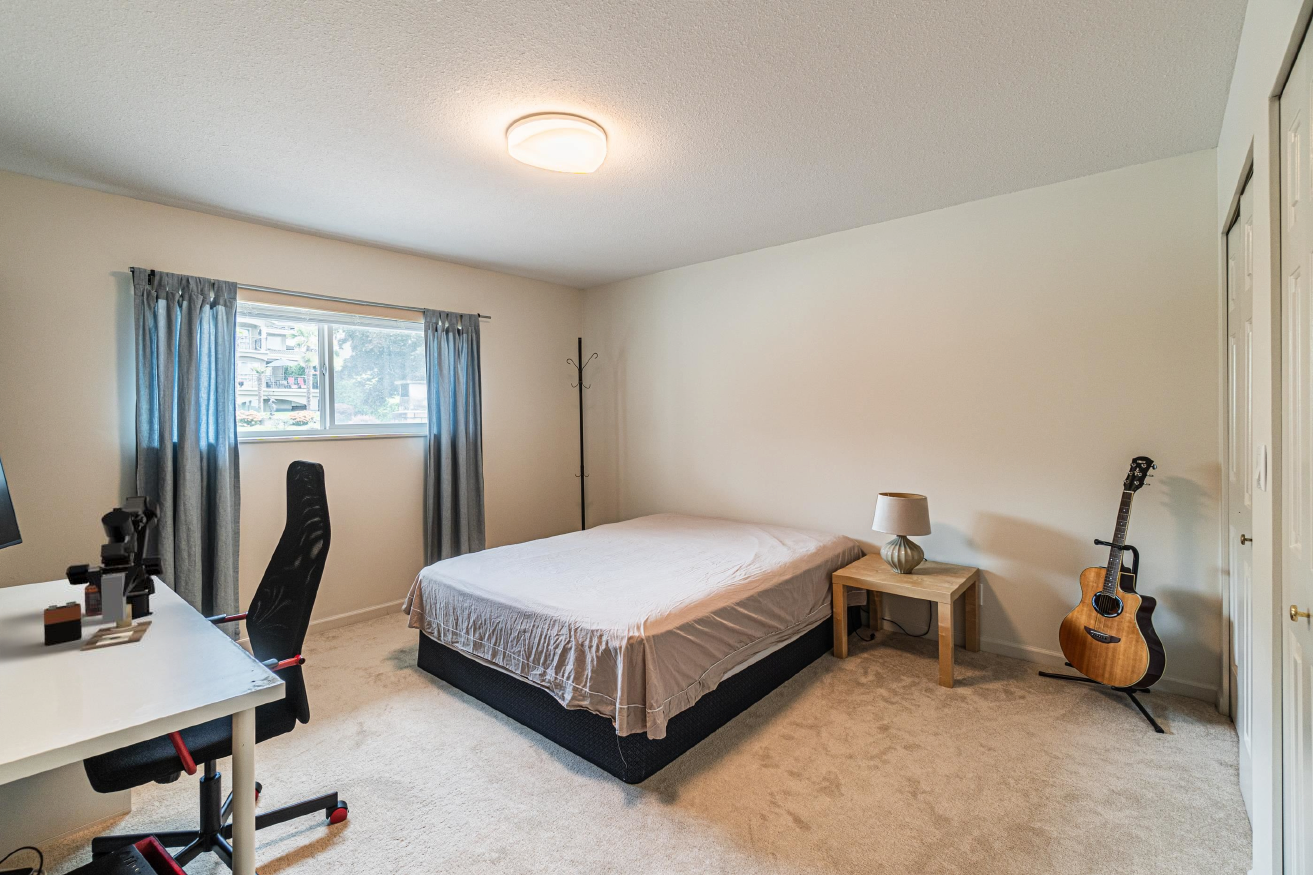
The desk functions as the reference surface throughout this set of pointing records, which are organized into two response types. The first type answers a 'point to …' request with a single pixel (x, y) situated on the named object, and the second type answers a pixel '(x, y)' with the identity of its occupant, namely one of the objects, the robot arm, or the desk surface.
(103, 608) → the leg
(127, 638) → the board
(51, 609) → the battery
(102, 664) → the desk surface
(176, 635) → the desk surface
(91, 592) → the supplement bottle
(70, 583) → the robot arm
